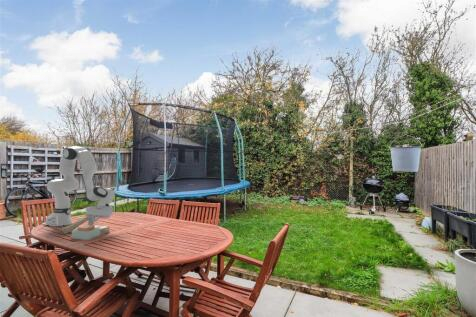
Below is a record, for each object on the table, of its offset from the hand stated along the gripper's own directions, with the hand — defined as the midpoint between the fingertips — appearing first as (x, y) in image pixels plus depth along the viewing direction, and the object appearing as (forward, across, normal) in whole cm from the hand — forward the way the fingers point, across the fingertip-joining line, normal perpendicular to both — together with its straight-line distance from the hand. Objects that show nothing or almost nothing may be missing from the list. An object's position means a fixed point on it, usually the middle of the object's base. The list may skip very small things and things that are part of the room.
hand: (93, 221), depth 222 cm
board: (+5, 0, +9) cm, 10 cm away
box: (+13, 0, 0) cm, 13 cm away
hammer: (+1, -19, +14) cm, 23 cm away
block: (+7, +1, 0) cm, 7 cm away
